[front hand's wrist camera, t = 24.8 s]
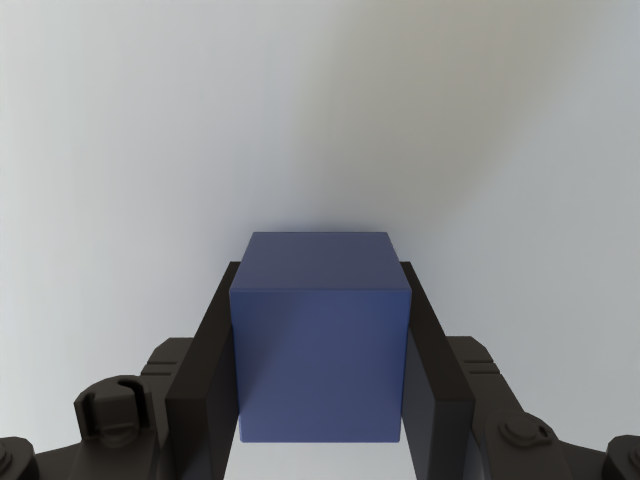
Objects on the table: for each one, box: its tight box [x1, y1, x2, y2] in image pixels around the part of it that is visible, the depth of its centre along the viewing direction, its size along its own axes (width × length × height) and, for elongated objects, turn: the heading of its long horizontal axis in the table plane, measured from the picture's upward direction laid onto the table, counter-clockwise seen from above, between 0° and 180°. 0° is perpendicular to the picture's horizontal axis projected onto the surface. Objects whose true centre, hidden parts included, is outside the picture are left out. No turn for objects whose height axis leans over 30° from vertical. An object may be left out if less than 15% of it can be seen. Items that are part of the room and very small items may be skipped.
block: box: [229, 232, 412, 443], centre depth 13 cm, size 5×4×4 cm
